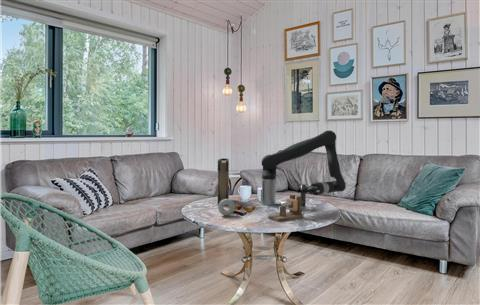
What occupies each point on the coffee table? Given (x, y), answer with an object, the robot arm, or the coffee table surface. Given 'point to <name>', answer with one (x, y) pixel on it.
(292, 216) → the shaft stand
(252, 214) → the coffee table surface
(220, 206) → the donut
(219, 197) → the decorative book
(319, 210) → the coffee table surface
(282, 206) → the grey piece
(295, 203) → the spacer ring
